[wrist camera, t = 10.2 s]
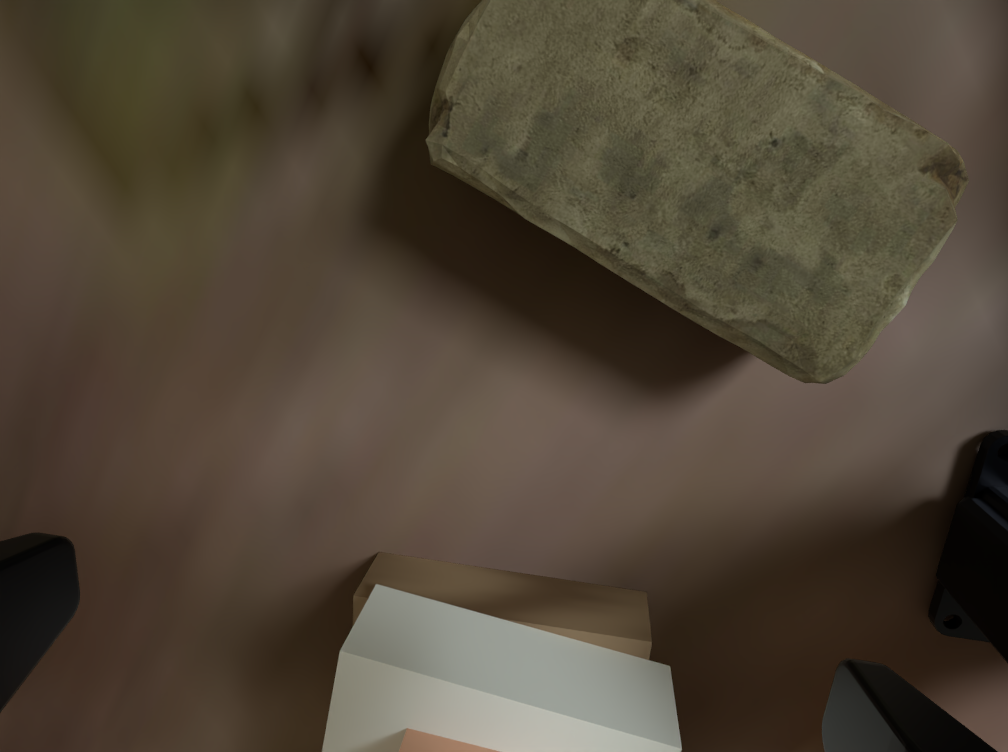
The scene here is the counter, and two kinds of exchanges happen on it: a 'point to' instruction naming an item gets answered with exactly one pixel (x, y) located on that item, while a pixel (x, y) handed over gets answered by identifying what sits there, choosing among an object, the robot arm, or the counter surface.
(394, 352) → the counter surface
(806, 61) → the stone block
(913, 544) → the counter surface
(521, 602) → the tower bottom
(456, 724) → the tower top
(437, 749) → the cube
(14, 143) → the counter surface
